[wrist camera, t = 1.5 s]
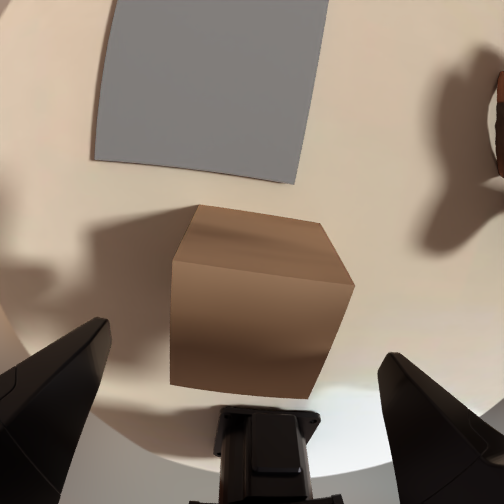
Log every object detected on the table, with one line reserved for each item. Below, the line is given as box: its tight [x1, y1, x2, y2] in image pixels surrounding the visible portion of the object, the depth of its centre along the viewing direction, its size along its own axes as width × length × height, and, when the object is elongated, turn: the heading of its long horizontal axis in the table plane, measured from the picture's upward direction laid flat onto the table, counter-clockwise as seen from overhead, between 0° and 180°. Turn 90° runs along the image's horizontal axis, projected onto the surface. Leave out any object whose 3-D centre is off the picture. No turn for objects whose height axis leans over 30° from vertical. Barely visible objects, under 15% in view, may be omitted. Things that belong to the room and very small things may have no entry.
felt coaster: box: [95, 0, 329, 185], centre depth 10 cm, size 8×8×1 cm
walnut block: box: [170, 205, 355, 399], centre depth 12 cm, size 5×5×5 cm
